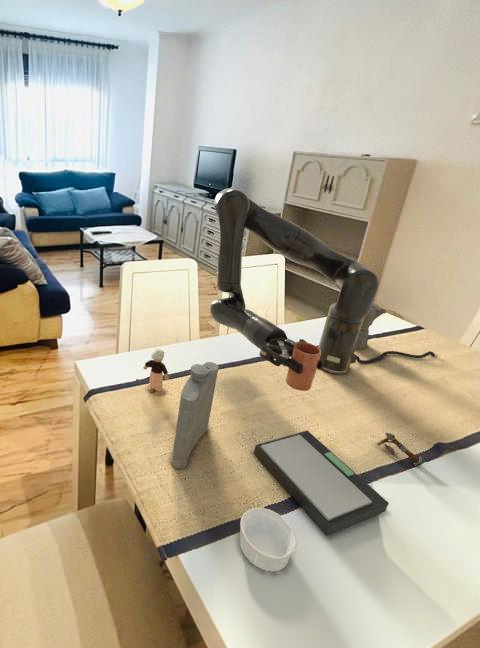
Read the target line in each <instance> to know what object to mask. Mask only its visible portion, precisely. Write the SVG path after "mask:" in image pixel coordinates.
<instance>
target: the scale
mask: <svg viewBox="0 0 480 648" xmlns="http://www.w3.org/2000/svg"><path fill="white" fill-rule="evenodd" d="M253 455H254V456H255V457H256V458H257V459H258V460H259V461H260V462H261V463H262V465H263V466H264V467H265V468H266V469H267V470H268V471H269V472H270V474H272V476H273V477H274V478H275V479H276V480H277V481H278V482H279V484H280V485H281V486H282V487H283V489H285V490H286V492H287V493H288V495H290V496H291V497H292V498H293V499H294V500H295V502H296V503H297V504H298V505H299V506H300V507H301V508H302V510H303V511H304V512H305V513H306V514H307V515H308V517H309V518H310V519H311V521H313V522H314V523H315V524H316V526H317V527H318V528H319V529H320V530H321V531H322V532H323V533H324V535H325V536H326V537H329V536H330V535H333V534H336V533H337V532H338V533H339V532H340V531H342V530H345V529H347V528H350V527H352V526H355V525H357V524H359V523H361V522H364V521H366V520H369V519H371V518H373V517H376V516H377V515H381V514H383V513H385V512H386V511H387V508H388V506H389V504H390V502H388V501H387V500H386V499H385V497H383V496H382V495H381V494H380V493H378V491H376V490H375V489H374V488H373V487H372V486H371V485H369V484H368V483H367V482H366V481H365V480H364V479H363V478H362V477H360V476H359V475H358V474H357V473H356V472H355V471H353V469H352V468H350V467H349V466H348V465H347V464H346V463H345V462H344V461H342V460H341V459H340V457H338V456H337V455H336V454H335V453H333V452H332V451H331V450H330V449H329V448H328V447H327V446H326V445H324V444H323V443H322V442H321V441H320V440H319V439H318V438H317V437H316V436H314V435H313V434H312V433H311V432H310V431H309V430H304V431H300V432H297V433H293V434H289V435H286V436H282V437H279V438H276V439H272V440H269V441H265V442H260V443H258V444H255V446H254V450H253Z"/></svg>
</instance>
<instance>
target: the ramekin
mask: <svg viewBox="0 0 480 648" xmlns="http://www.w3.org/2000/svg"><path fill="white" fill-rule="evenodd" d="M239 525H240V526H239V528H240V530H239V545H240V548H241V551H242V553H243V554H244V556H245V557H246V558H247V560H248V561H249V562H250V563H251V564H253V565H254V566H255V567H257V568H258V569H260V570H263V571H267V572H272V573H273V572H278V571H281V570H282V569H284V568H285V567H286V566H287V564H288V562H289V561H290V559H291V557H292V555H293V554H294V553H295V551H296V549H297V536H296V533H295V530H294V529H293V527H292V526H291V524H290V523H289V522H288V521H287V520H286V519H285V517H283V516H282V515H280V514H279V513H277V512H276V511H274V510H272V509H269V508H265V507H252V508H249V509H247V510H245V512H244V513H243V514H242V516H241V517H240V521H239Z"/></svg>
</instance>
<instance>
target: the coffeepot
mask: <svg viewBox="0 0 480 648" xmlns="http://www.w3.org/2000/svg"><path fill="white" fill-rule="evenodd" d="M337 300H338V297H336V299H335V300H334V301H335V302H334V303H336V302H337ZM384 314H387V311H386V309H384V308H382V307H380V306H379V304H376V303H374V302H373V304H372V306H371V309H370V311H369V313H368V314H367V315H366V316H365V317H364V320H363V323H362V326H361V329H360V332H359V335H358V338H357V346H356V349H355V350H364V349H366V348H368V341H369V333H370V330H369V329H370V327H371V326H372V325H373V324H374V321H375V320H376V319H377V318H379V317H381V316H382V315H384Z"/></svg>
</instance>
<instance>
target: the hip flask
mask: <svg viewBox="0 0 480 648" xmlns="http://www.w3.org/2000/svg"><path fill="white" fill-rule="evenodd" d="M219 368H220V367H219V365H218V364H217V363H215V362H212V361H208V362H205V363H203V364H192V365H191V366H190V370H189V371H190V376H189V378H188V379H187V380H186V382H185V383H184V386H183V387H182V390H181V393H180V399H179V405H178V412H177V419H176V425H175V432H174V433H175V434H174V441H173V448H172V453H171V461H170V462H171V464H172V466H173V467H174V468H175V469H178V470H179V469H184V468H185V467H187V464H188V461H189V458H190V455H191V453H192V451H193V449H194V447H195V446H196V444H197V442H198V441H199V440H200V438H201V437H202V436H204V435H205V433H206V432H208V429H209V422H210V417H211V412H212V405H213V401H214V397H215V391H216V390H215V389H216V384H217V379H218V373H219Z"/></svg>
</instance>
